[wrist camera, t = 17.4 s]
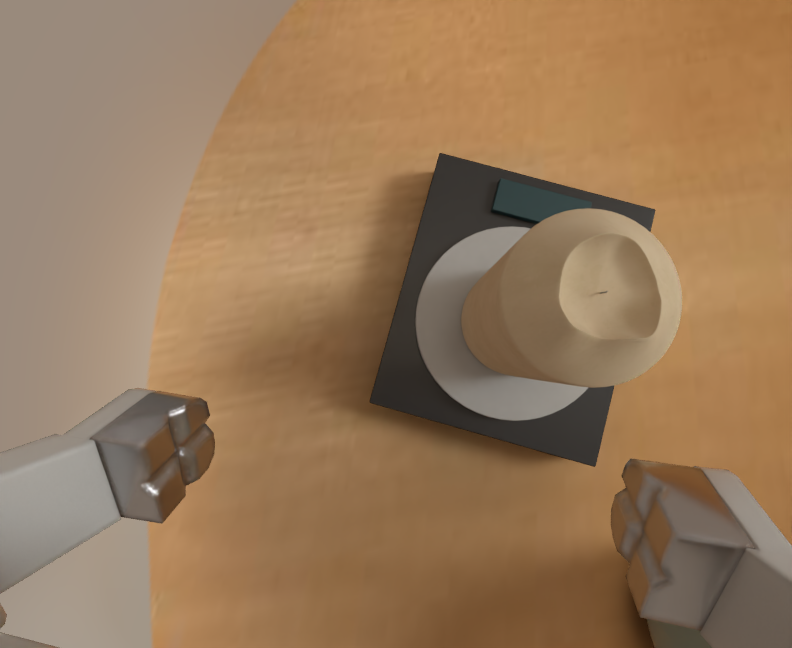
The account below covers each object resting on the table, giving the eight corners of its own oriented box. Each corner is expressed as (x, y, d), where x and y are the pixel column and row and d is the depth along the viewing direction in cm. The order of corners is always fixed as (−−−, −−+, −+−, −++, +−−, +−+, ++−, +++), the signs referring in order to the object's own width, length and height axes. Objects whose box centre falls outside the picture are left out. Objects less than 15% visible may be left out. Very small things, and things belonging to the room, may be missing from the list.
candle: (588, 342, 21) (761, 328, 11) (493, 395, 21) (580, 430, 11) (533, 249, 21) (650, 153, 11) (440, 300, 21) (476, 247, 11)
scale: (372, 398, 23) (368, 403, 21) (436, 170, 25) (440, 146, 22) (577, 456, 23) (601, 470, 20) (632, 222, 24) (663, 205, 21)
